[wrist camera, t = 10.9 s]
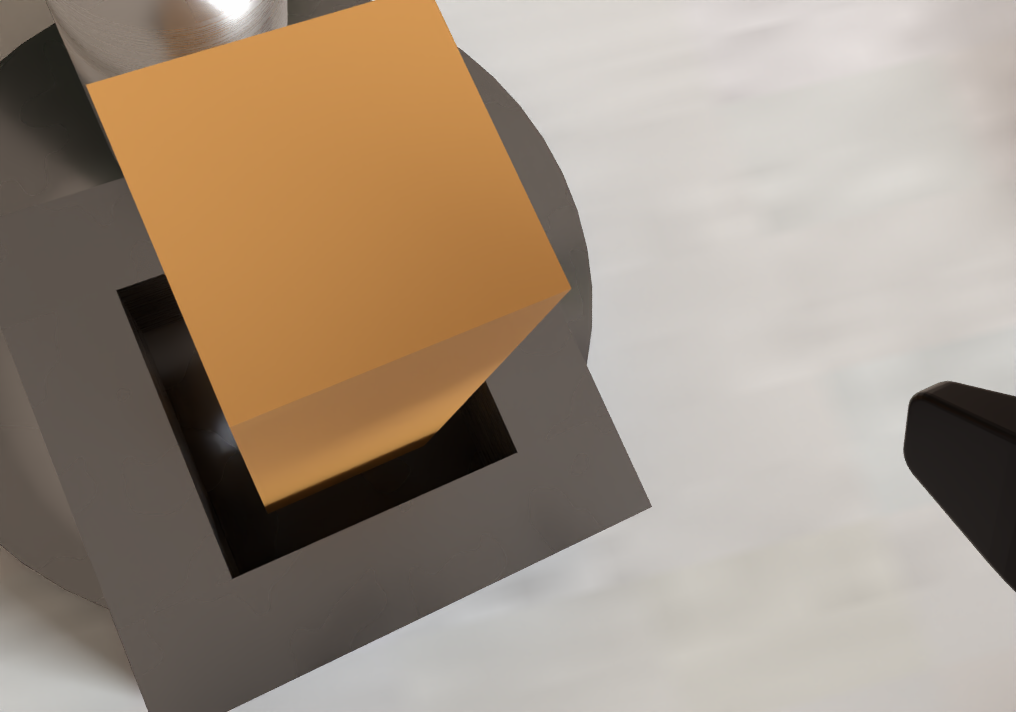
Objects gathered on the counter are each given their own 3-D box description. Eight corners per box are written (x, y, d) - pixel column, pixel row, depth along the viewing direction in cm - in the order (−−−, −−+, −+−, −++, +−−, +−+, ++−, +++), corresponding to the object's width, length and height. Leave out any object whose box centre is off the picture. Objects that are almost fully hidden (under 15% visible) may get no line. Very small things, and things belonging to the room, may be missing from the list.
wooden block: (424, 445, 21) (570, 289, 10) (268, 514, 20) (229, 427, 9) (359, 298, 22) (427, -15, 10) (202, 358, 21) (85, 85, 9)
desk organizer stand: (689, 473, 23) (879, 420, 16) (52, 776, 19) (-111, 906, 11) (434, -70, 25) (493, -353, 18) (-197, 99, 21) (-480, -177, 13)
